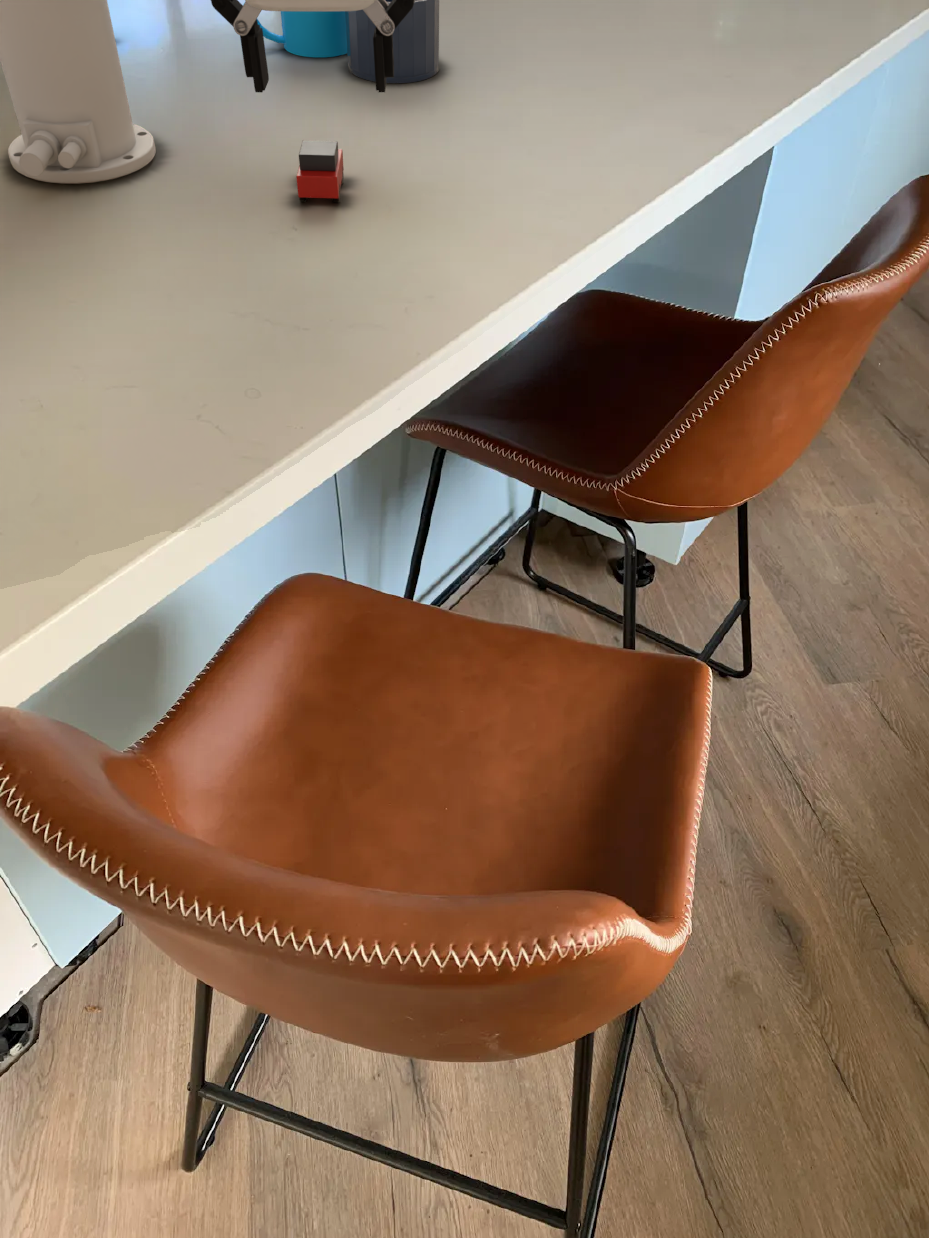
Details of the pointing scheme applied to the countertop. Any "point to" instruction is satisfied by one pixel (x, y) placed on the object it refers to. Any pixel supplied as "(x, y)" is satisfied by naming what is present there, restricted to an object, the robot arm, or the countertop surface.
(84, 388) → the countertop surface
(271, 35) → the mug
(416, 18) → the cup
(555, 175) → the countertop surface
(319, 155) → the car
